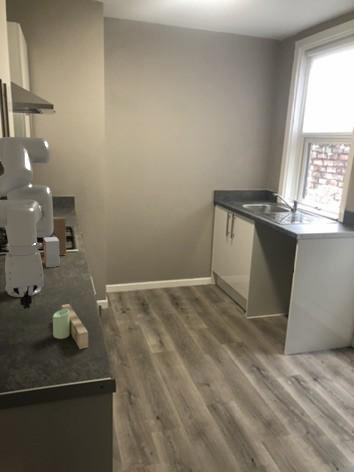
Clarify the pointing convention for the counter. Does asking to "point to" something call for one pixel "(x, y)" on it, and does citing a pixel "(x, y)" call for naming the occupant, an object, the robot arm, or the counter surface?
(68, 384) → the counter surface
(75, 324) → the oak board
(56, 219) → the decorative block
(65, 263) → the counter surface
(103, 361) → the counter surface
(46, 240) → the small box
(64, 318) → the candle
